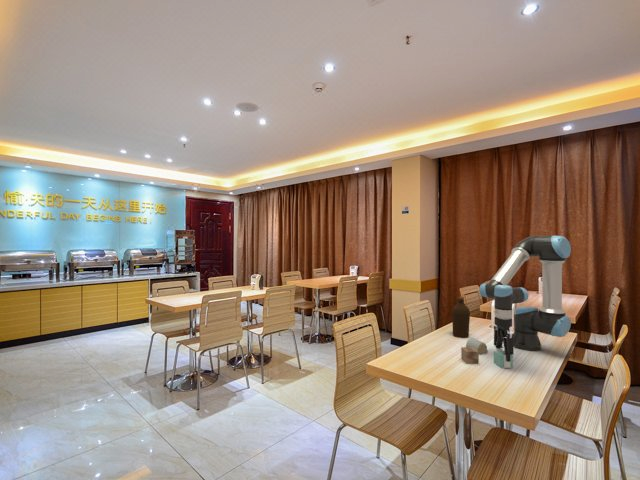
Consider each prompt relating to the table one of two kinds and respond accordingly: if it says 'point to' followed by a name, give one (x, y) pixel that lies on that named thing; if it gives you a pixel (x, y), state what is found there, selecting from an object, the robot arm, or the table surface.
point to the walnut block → (469, 355)
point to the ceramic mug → (477, 345)
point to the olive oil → (460, 319)
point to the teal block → (501, 359)
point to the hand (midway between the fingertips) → (503, 364)
